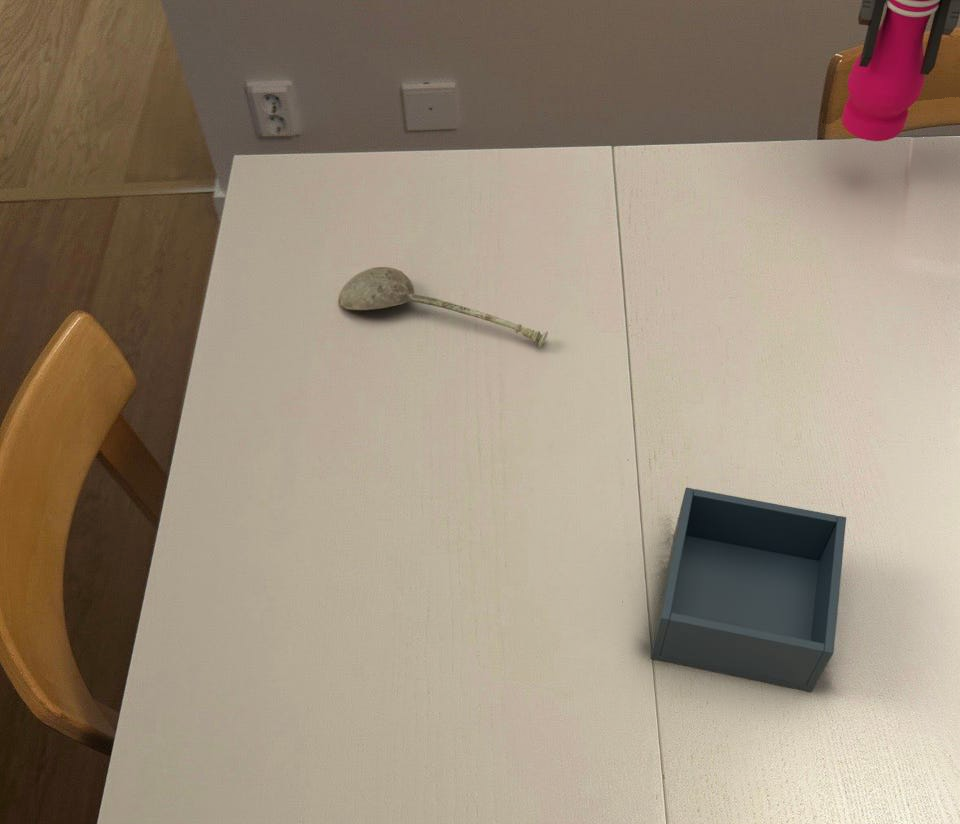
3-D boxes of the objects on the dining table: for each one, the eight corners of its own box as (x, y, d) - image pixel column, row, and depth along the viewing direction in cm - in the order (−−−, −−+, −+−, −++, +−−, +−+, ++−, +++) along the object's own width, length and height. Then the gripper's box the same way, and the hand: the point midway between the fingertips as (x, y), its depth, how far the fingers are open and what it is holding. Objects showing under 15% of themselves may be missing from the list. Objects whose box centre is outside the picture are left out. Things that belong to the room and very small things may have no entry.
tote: (825, 561, 90) (846, 516, 85) (811, 692, 84) (833, 653, 78) (674, 532, 92) (685, 486, 87) (650, 658, 86) (660, 617, 80)
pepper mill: (906, 105, 111) (981, -107, 94) (909, 148, 107) (987, -65, 90) (836, 99, 112) (897, -113, 95) (836, 141, 108) (899, -71, 91)
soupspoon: (358, 273, 110) (330, 317, 107) (352, 247, 107) (323, 292, 104) (557, 324, 105) (533, 371, 102) (557, 298, 102) (532, 346, 99)
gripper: (1055, -186, 97) (983, 89, 103) (854, -205, 100) (795, 65, 105) (1085, -232, 90) (1006, 67, 96) (868, -250, 92) (804, 42, 98)
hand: (896, 66), depth 101 cm, fingers closed on pepper mill, 5 cm apart
